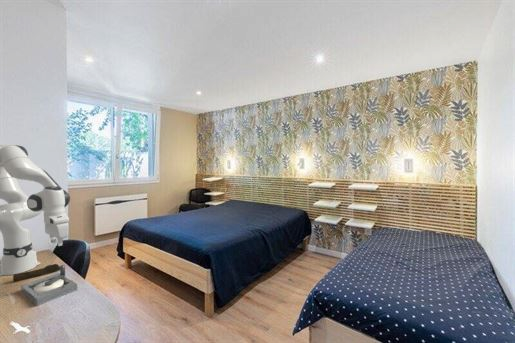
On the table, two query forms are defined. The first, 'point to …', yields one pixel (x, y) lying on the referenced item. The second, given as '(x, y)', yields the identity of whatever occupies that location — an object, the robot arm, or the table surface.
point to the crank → (51, 283)
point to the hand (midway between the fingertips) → (56, 244)
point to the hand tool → (37, 272)
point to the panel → (49, 295)
